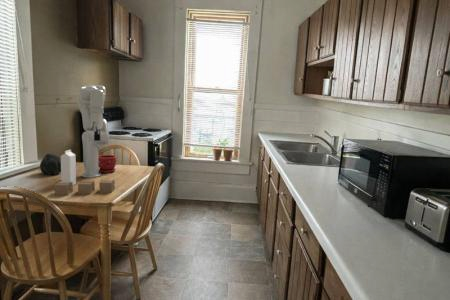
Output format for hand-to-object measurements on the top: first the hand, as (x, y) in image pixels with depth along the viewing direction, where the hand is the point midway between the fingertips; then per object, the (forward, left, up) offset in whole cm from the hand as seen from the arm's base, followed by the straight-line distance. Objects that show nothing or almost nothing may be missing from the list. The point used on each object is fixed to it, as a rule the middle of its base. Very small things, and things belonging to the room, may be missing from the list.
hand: (97, 140), depth 185 cm
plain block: (+12, -3, -29) cm, 32 cm away
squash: (-28, -39, -29) cm, 56 cm away
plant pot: (-39, -5, -29) cm, 49 cm away
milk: (-2, -18, -29) cm, 34 cm away
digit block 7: (+8, +8, -29) cm, 31 cm away
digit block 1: (+15, -14, -29) cm, 36 cm away
